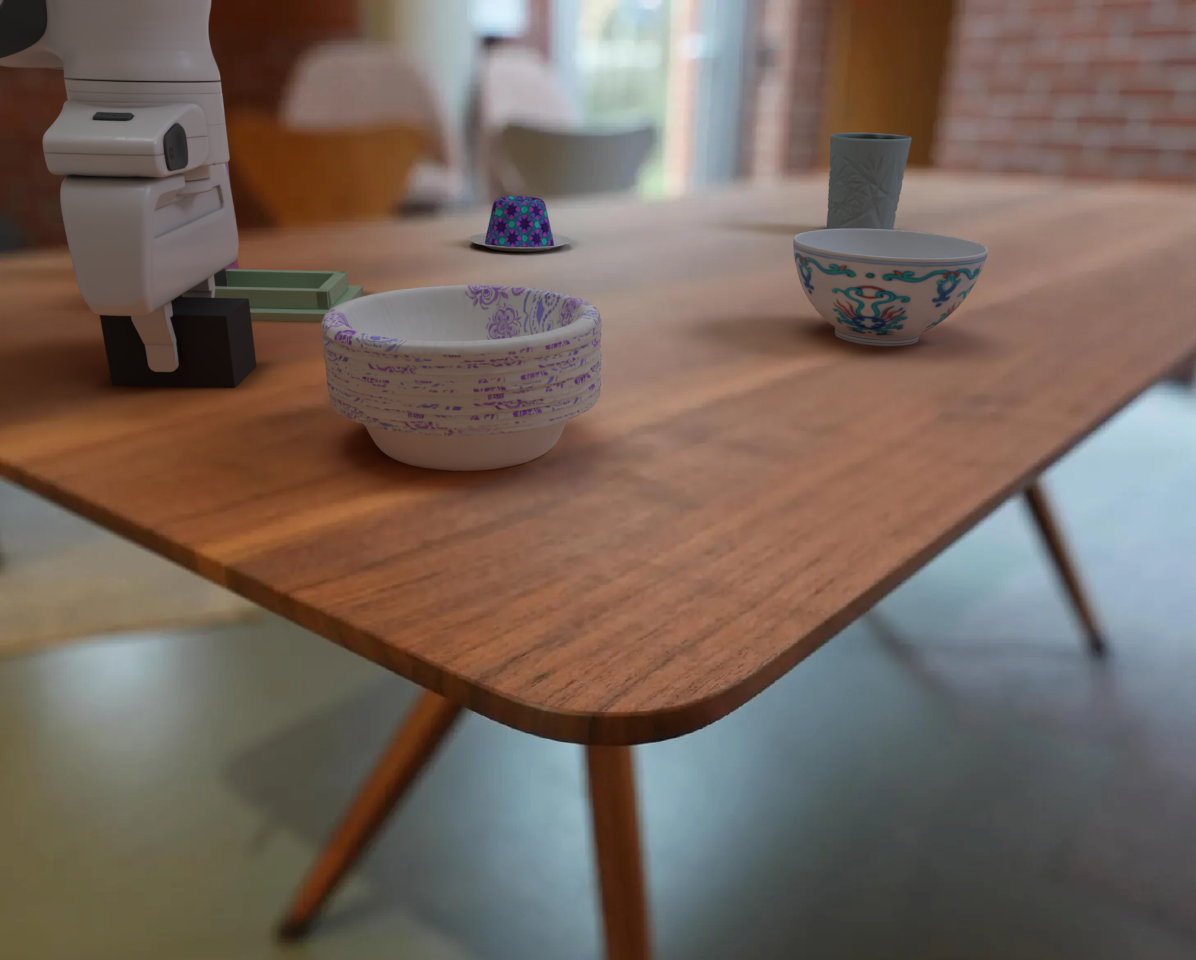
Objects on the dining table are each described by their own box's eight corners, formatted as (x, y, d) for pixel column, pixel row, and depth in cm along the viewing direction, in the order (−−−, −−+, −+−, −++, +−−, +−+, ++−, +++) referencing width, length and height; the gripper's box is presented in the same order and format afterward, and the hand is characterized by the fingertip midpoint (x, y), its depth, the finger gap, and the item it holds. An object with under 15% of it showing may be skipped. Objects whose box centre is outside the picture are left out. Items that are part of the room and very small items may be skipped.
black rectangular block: (112, 390, 72) (98, 312, 70) (141, 368, 77) (129, 295, 74) (235, 392, 72) (226, 315, 70) (257, 370, 77) (249, 298, 75)
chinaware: (1004, 343, 90) (1022, 245, 87) (909, 374, 81) (925, 266, 77) (848, 312, 100) (860, 223, 96) (747, 336, 90) (755, 238, 87)
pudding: (447, 243, 129) (446, 196, 127) (527, 235, 136) (527, 190, 134) (511, 258, 121) (511, 208, 119) (592, 248, 128) (593, 201, 126)
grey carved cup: (897, 230, 149) (911, 134, 143) (898, 241, 140) (913, 139, 134) (821, 226, 151) (832, 131, 145) (817, 236, 142) (829, 135, 136)
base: (115, 321, 89) (102, 244, 87) (164, 292, 100) (154, 223, 97) (338, 326, 90) (332, 250, 87) (363, 296, 100) (358, 228, 98)
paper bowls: (273, 457, 61) (257, 312, 57) (446, 395, 73) (441, 271, 69) (495, 517, 54) (492, 357, 50) (647, 438, 66) (653, 303, 62)
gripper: (156, 121, 77) (184, 321, 83) (26, 143, 58) (74, 397, 64) (248, 123, 77) (269, 322, 83) (146, 146, 58) (183, 399, 65)
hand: (183, 356), depth 74 cm, fingers closed on black rectangular block, 5 cm apart
